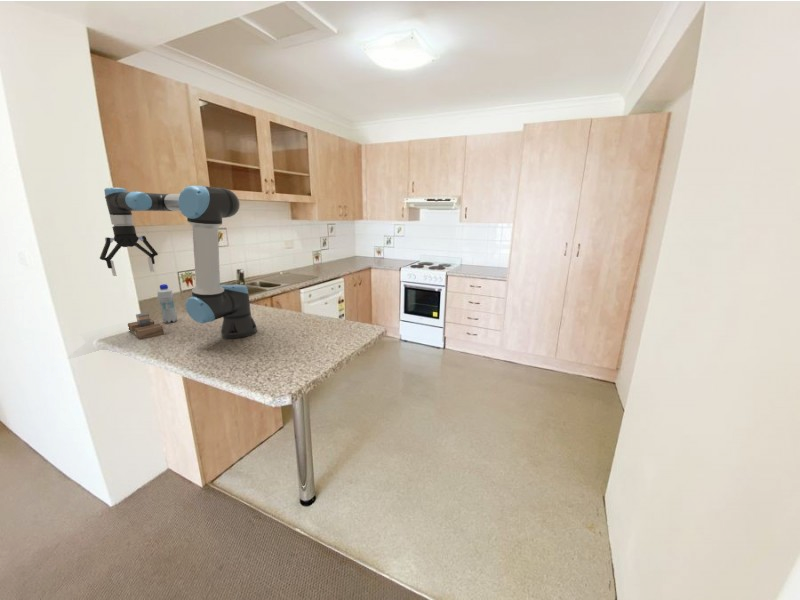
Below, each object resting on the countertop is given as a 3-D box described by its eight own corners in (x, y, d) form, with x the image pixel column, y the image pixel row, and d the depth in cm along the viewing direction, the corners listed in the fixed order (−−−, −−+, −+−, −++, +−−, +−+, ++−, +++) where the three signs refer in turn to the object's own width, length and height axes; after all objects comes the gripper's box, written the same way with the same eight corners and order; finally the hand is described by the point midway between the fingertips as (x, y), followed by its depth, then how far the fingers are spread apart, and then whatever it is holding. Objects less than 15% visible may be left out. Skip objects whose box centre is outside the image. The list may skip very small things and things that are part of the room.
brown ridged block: (164, 334, 152) (162, 326, 151) (140, 339, 145) (138, 331, 144) (151, 326, 163) (150, 318, 162) (129, 331, 156) (127, 323, 155)
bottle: (164, 320, 172) (156, 283, 167) (179, 319, 174) (172, 282, 169) (161, 324, 166) (153, 286, 161) (176, 322, 168) (169, 284, 163)
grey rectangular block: (152, 330, 154) (149, 314, 152) (141, 332, 151) (138, 316, 149) (149, 328, 157) (146, 312, 155) (139, 330, 154) (135, 314, 152)
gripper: (154, 224, 153) (163, 269, 159) (82, 226, 134) (95, 276, 140) (159, 224, 149) (168, 270, 154) (86, 226, 130) (99, 278, 135)
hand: (134, 273), depth 147 cm, fingers open, 13 cm apart
